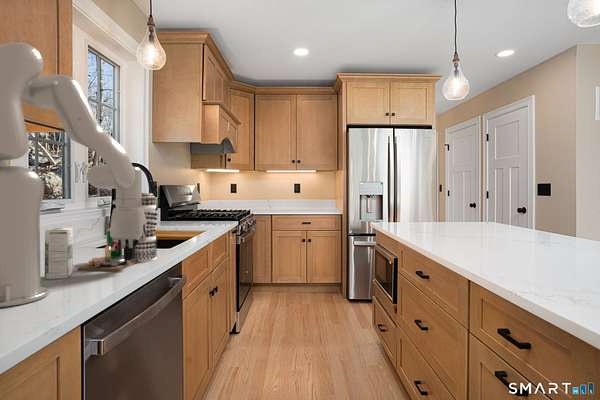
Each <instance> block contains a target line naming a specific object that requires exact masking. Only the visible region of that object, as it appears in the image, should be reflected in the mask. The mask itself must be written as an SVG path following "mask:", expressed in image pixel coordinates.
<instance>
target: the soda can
mask: <svg viewBox="0 0 600 400" xmlns="http://www.w3.org/2000/svg"><path fill="white" fill-rule="evenodd" d="M112 239H113V238H111V236H110V227H108V228H107V230H106V247H107V246H110V247H111V256H121V255H123V248H122V246H121V245H120V244H119V243H118V242H114V241H113V240H112Z"/></svg>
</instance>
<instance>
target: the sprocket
mask: <svg viewBox="0 0 600 400" xmlns="http://www.w3.org/2000/svg"><path fill="white" fill-rule="evenodd" d="M131 261H133V259H132V260H124V254H122V255H121V256H111V247H110V246H107V245H106V246H104V256H101V257H94V258H91V260H88V262H87V265H94V266H95V267H101V266H117V265H121V264H128V263H131Z"/></svg>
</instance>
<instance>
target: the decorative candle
mask: <svg viewBox="0 0 600 400" xmlns="http://www.w3.org/2000/svg"><path fill="white" fill-rule="evenodd" d="M141 199H142V208H143V209H144V212H145V218H146V236H145V238H146V241H145V242H141V243H139V244H138V245H137V246H136V247H135V257H134V259H133V260H138V263H147V262H153V261H156V260H158V259H157V251H158V249H157V246H158V245H157V243H158V241H157V236H156V229H158V228H157V225H158V223H157V222H156V221H157V220H158V217H157V216H158V213H157V211H158V210H159V209H158V208H157V205H156V196H155V194H154V193H152V192H142V198H141ZM138 239H140V238H138Z"/></svg>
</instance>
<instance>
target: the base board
mask: <svg viewBox="0 0 600 400" xmlns="http://www.w3.org/2000/svg"><path fill="white" fill-rule="evenodd" d="M138 263H139V262H138V260H133V261H131V263H128V264H121V265H117V266H101V267H95V266H94V265H88V264H86V265H83V266H80V267H77V268H76V269H77V271H78V272H79V271H80V272H81V271H82V272H119V271H121V270H124V269H126V268H128V267H131V266H133V265H136V264H138Z"/></svg>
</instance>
